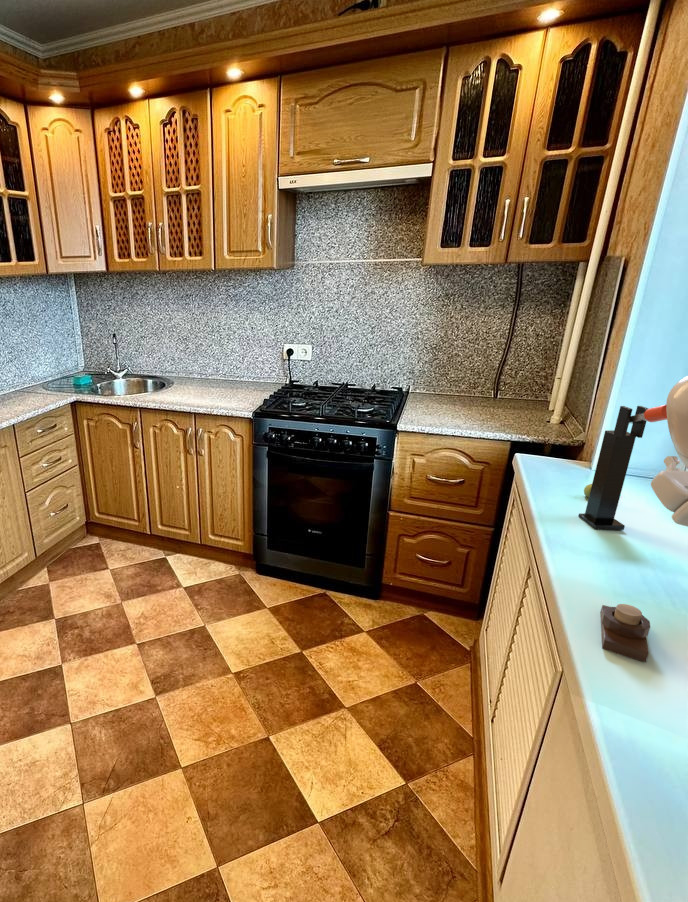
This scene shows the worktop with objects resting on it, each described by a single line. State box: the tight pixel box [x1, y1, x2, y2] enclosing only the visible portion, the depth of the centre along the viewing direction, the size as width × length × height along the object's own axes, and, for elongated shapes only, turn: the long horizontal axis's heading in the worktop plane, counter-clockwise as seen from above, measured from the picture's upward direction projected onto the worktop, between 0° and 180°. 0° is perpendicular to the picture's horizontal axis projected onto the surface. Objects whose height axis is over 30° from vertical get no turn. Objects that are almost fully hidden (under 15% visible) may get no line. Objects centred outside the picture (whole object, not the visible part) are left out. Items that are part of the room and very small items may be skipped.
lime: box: [583, 483, 592, 499], centre depth 147 cm, size 4×5×5 cm
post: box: [578, 405, 649, 531], centre depth 129 cm, size 7×7×31 cm
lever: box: [629, 404, 667, 425], centre depth 119 cm, size 12×3×3 cm, turn 176°
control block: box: [599, 604, 651, 663], centre depth 94 cm, size 12×6×4 cm, turn 146°
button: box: [614, 603, 643, 625], centre depth 93 cm, size 4×4×2 cm
